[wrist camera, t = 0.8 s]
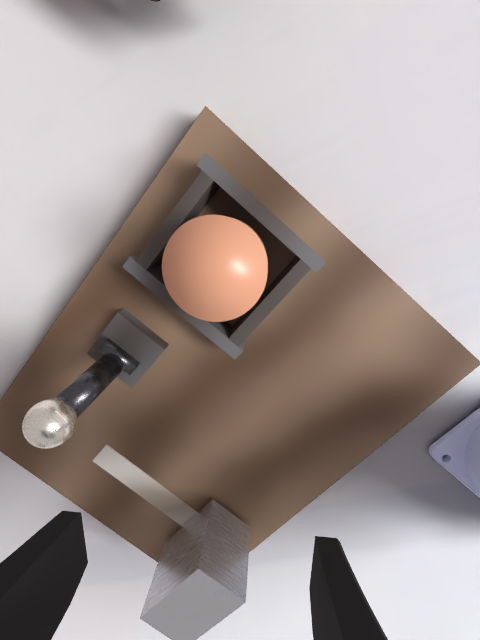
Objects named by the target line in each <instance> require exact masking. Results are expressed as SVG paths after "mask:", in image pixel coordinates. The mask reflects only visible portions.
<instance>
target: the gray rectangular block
mask: <svg viewBox="0 0 480 640" xmlns="http://www.w3.org/2000/svg"><path fill="white" fill-rule="evenodd" d="M249 539H250V527H249V526H248V525H247V524H245V523H244V522H243V521H241V520H240V519H239V518H237V517H236V516H235V515H233V514H232V513H231V512H229V511H228V510H227V509H225V508H224V507H223V506H221V505H220V504H219V503H217V502H216V501H215V500H213V499H212V500H211V501H210V502H209V503H208V504H207V505H206V506H205V507H204V508H203V509H201V510H200V511H199V512H198V513H197V514H196V515H195V516H194V517H193V518H192V519H191V520H190V521H188V522H187V523H186V524H185V525H184V526H183V527H182V528H181V529H180V530H179V531H178V532H176V533H175V534H174V535H173V536H172V537H171V538H170V539H169V540H168V541H167V542H166V543H164V546H163V549H162V552H161V555H160V558H159V561H158V564H157V567H156V570H155V574H154V577H153V580H152V583H151V586H150V589H149V592H148V595H147V598H146V601H145V604H144V607H143V610H142V613H141V616H140V619H142V620H143V621H145V622H146V623H148V624H149V625H151V626H152V627H154V628H155V629H156V630H158V631H159V632H161V633H162V634H164V635H165V636H167V637H168V638H170V639H171V640H196V639H198V638H199V637H200V636H202V635H203V634H204V633H206V632H207V631H208V630H210V629H211V628H212V627H213V626H215V625H216V624H217V623H219V622H220V621H221V620H223V619H224V618H225V617H227V616H228V615H229V614H231V613H232V612H233V611H235V610H236V609H237V608H239V607H240V606H241V605H243V604H244V603H245V602H246V587H247V571H248V555H249Z"/></svg>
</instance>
